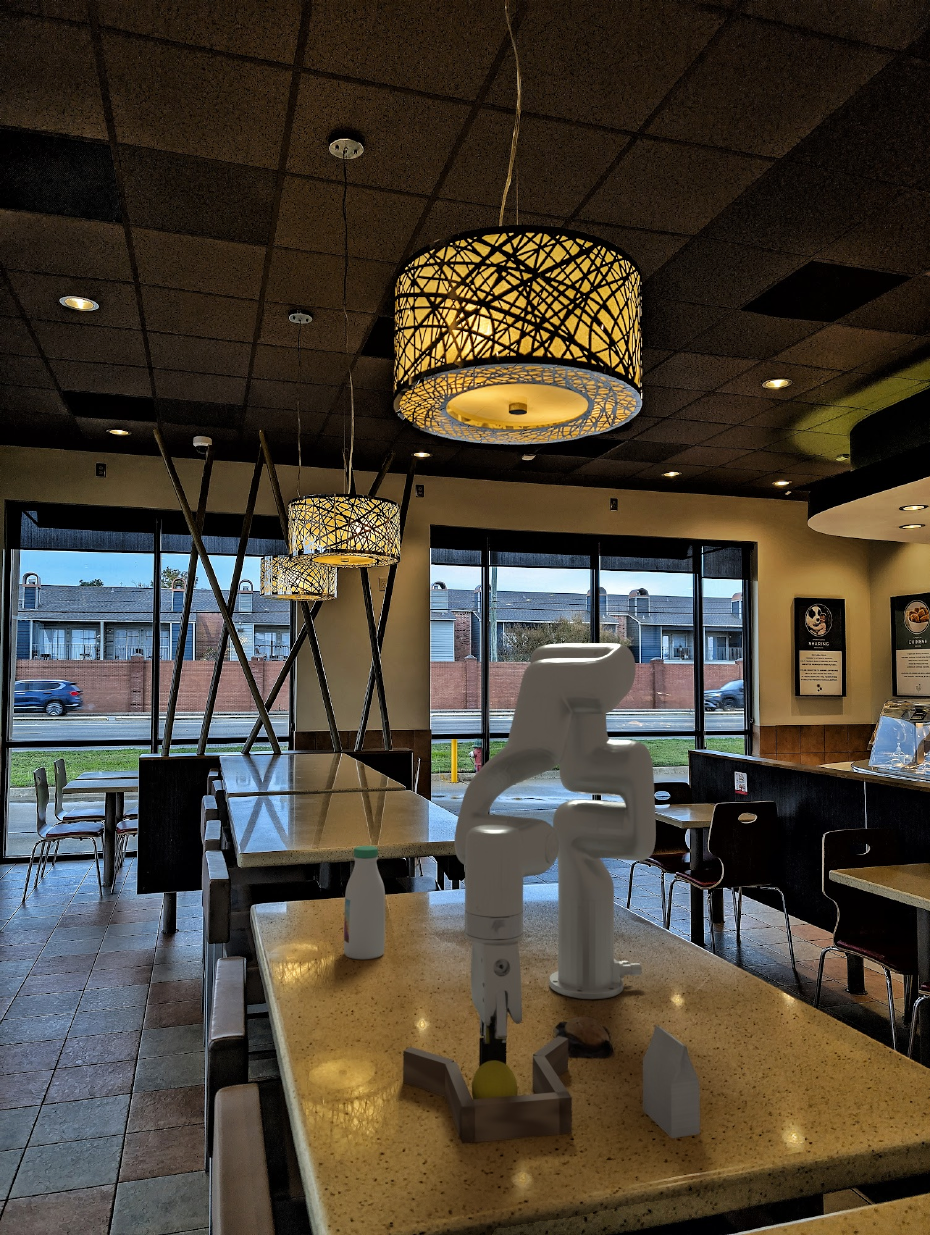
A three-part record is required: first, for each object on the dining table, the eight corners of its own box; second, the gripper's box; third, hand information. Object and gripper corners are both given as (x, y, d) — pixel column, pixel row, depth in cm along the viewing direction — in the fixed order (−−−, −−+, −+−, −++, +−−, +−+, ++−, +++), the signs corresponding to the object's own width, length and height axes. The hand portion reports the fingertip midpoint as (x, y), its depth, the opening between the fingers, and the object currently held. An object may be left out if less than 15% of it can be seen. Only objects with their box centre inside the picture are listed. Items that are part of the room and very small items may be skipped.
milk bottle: (391, 951, 167) (393, 845, 168) (371, 963, 160) (372, 852, 161) (357, 945, 170) (359, 842, 172) (335, 957, 163) (337, 849, 165)
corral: (565, 1065, 118) (565, 1035, 118) (610, 1129, 101) (610, 1093, 102) (401, 1078, 114) (402, 1047, 114) (420, 1147, 97) (421, 1110, 97)
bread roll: (549, 1032, 131) (549, 1007, 131) (605, 1031, 131) (604, 1006, 131) (560, 1063, 120) (560, 1035, 120) (620, 1062, 121) (620, 1035, 121)
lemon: (507, 1087, 109) (511, 1140, 102) (465, 1076, 109) (466, 1129, 101) (520, 1052, 108) (526, 1103, 100) (478, 1041, 108) (481, 1092, 100)
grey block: (671, 1138, 100) (671, 1048, 100) (643, 1110, 106) (642, 1026, 107) (699, 1133, 101) (699, 1045, 101) (669, 1106, 107) (669, 1023, 108)
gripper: (537, 940, 105) (536, 1097, 103) (508, 908, 119) (508, 1045, 118) (476, 943, 103) (474, 1102, 102) (455, 910, 118) (453, 1049, 117)
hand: (492, 1071), depth 110 cm, fingers closed
